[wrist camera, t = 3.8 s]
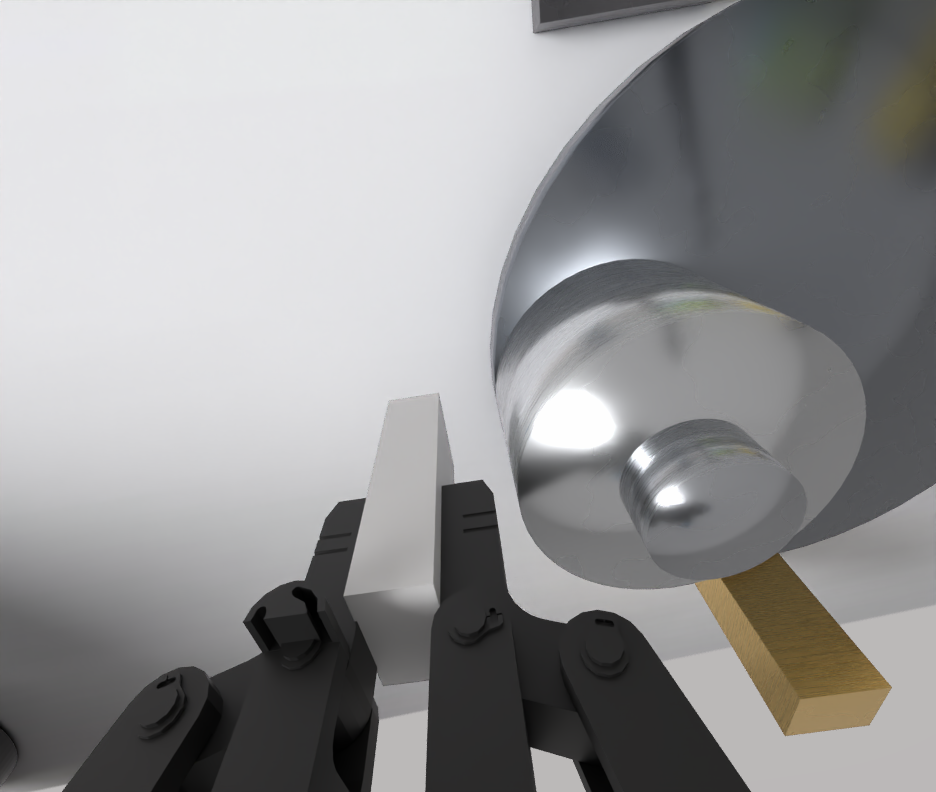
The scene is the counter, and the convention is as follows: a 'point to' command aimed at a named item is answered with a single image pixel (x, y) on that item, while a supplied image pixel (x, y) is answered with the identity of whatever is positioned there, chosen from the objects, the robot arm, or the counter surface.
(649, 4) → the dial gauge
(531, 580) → the counter surface
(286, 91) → the counter surface
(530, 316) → the cover
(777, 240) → the turntable
